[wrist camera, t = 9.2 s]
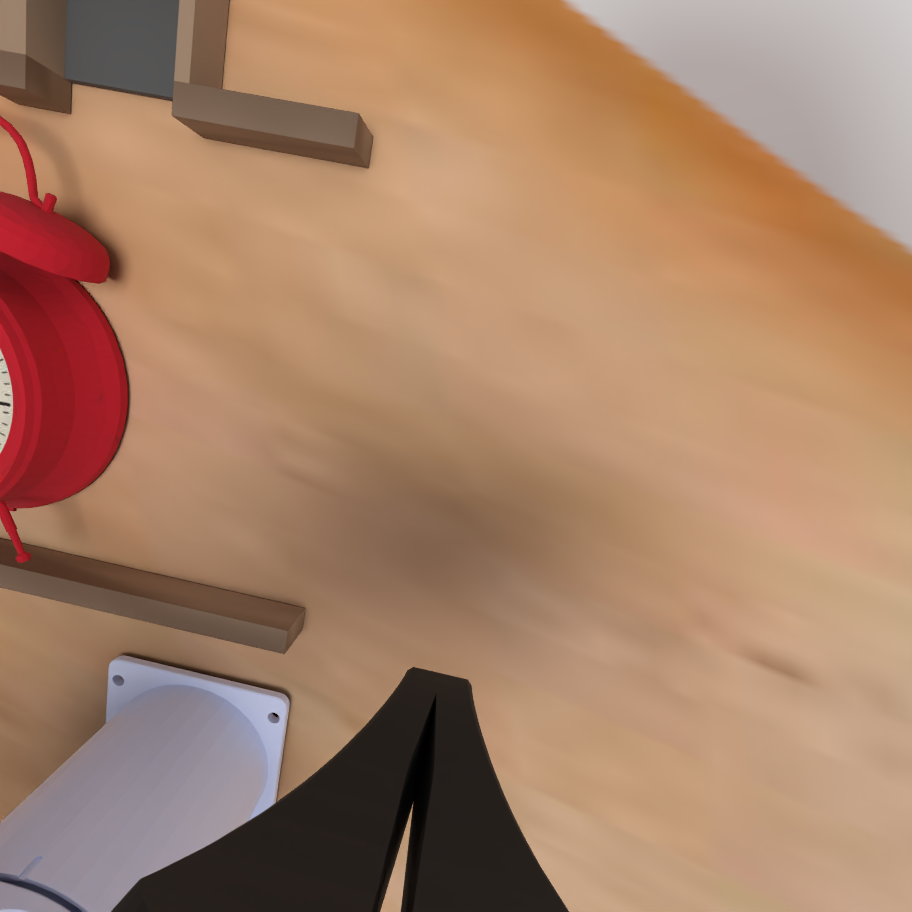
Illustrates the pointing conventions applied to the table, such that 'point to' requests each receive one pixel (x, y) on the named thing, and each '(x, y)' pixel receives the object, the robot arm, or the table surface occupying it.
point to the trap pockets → (121, 41)
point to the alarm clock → (52, 356)
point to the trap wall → (127, 587)
